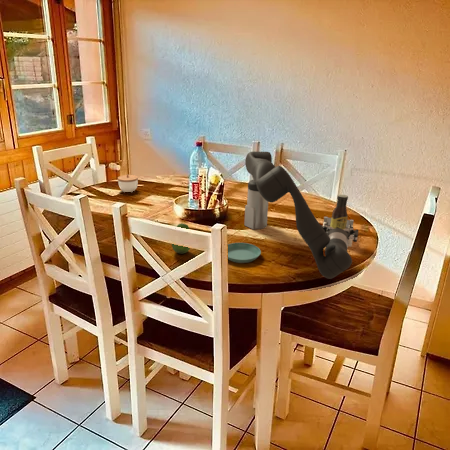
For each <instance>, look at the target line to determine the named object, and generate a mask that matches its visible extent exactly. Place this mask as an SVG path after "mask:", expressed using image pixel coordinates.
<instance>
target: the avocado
mask: <svg viewBox="0 0 450 450" xmlns="http://www.w3.org/2000/svg"><path fill="white" fill-rule="evenodd" d="M176 227H181V228H186V229H190V227H189V225H188V224H186V223H183V222H182V223H178V224H177V225H176ZM171 248H172V250H173V251H174V252H175V253H178V254H179V255H181V254H182V255H183V254H186V253H188V252H189V251H190V249H191V248H188V247H183V246H178V245H174V244H171Z"/></svg>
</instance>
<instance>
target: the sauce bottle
mask: <svg viewBox="0 0 450 450" xmlns="http://www.w3.org/2000/svg"><path fill="white" fill-rule="evenodd" d="M336 197H337V198H336V199H337V200H336V201H337V202H336V206H335V208H333V210H332V214H331V217H330V218H331V224H330V226H331V227H332V228H340V229H346V224H347V220H348V217H349V216H348V210H347V202H348V200H349V196H348V195H346V194H338V195H337V196H336Z"/></svg>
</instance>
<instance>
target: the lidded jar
mask: <svg viewBox="0 0 450 450" xmlns="http://www.w3.org/2000/svg"><path fill="white" fill-rule="evenodd" d="M138 181H139V177H138V176H137V175H134V174H133V175H132V174H123V175H120V176H118V177H117V183H118V186H119V188H120V190H121V191H122V192H123V193H125V192H131V193H134V192H135V190H136V189H137V188H138V185H139V183H138ZM133 191H134V192H133Z"/></svg>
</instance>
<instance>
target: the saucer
mask: <svg viewBox="0 0 450 450" xmlns="http://www.w3.org/2000/svg"><path fill="white" fill-rule="evenodd" d="M227 245H228V259H227V260H229V261H231V262H233V263H237V264H246V263H252V262H253V261H255V260H256V259H258V258H259V256H261V253H262V251H261V249H260V248H259V247H258V246H256V245H255V244H252V243H247V242H232V243H228V244H227Z"/></svg>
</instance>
